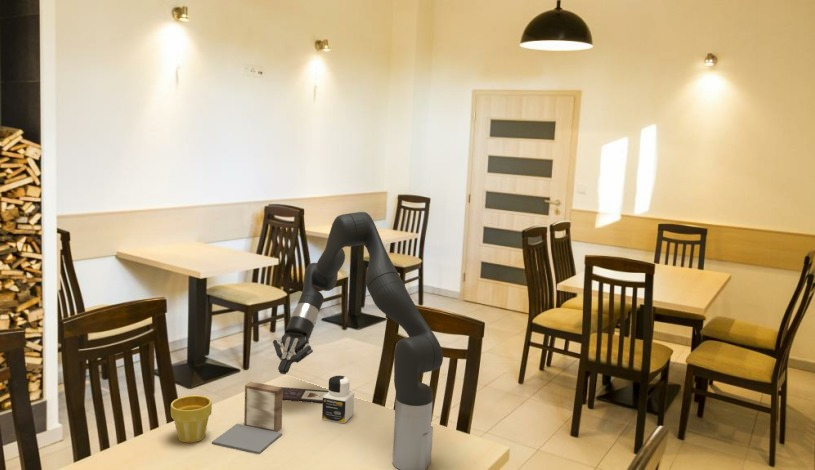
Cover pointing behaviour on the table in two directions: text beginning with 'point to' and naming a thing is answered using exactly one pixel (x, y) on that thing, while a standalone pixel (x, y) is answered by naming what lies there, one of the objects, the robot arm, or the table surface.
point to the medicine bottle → (338, 400)
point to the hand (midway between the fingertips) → (282, 372)
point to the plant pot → (191, 417)
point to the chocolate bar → (303, 395)
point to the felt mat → (247, 438)
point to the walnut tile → (263, 406)
